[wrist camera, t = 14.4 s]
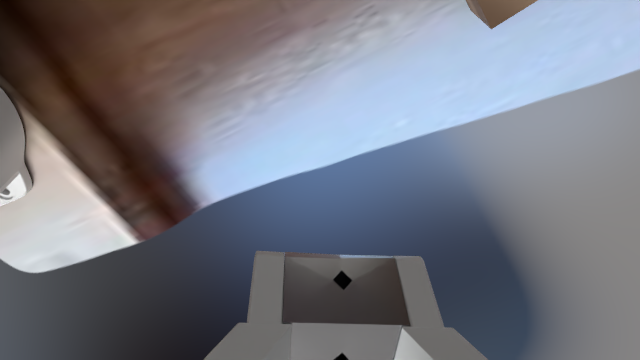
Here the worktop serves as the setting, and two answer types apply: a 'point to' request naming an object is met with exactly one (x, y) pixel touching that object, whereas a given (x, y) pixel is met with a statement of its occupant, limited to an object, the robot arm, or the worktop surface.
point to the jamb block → (497, 9)
